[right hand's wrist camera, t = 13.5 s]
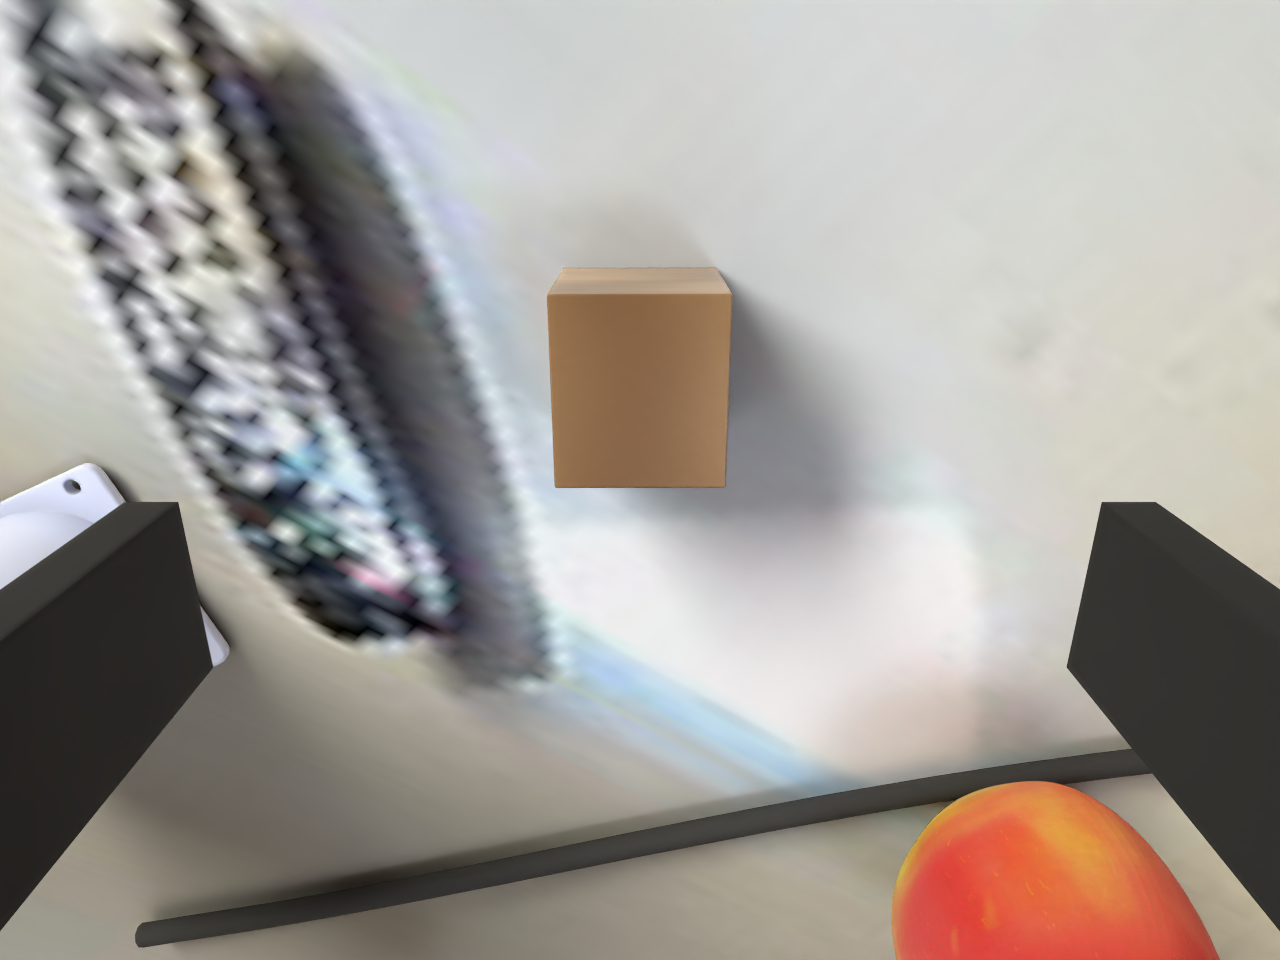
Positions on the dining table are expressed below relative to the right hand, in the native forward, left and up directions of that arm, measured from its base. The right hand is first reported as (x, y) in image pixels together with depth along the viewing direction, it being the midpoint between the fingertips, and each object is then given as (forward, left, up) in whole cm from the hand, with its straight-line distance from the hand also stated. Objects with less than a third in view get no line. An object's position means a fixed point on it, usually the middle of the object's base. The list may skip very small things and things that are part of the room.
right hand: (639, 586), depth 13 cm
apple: (+10, -20, -15) cm, 27 cm away
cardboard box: (0, 0, -15) cm, 15 cm away
